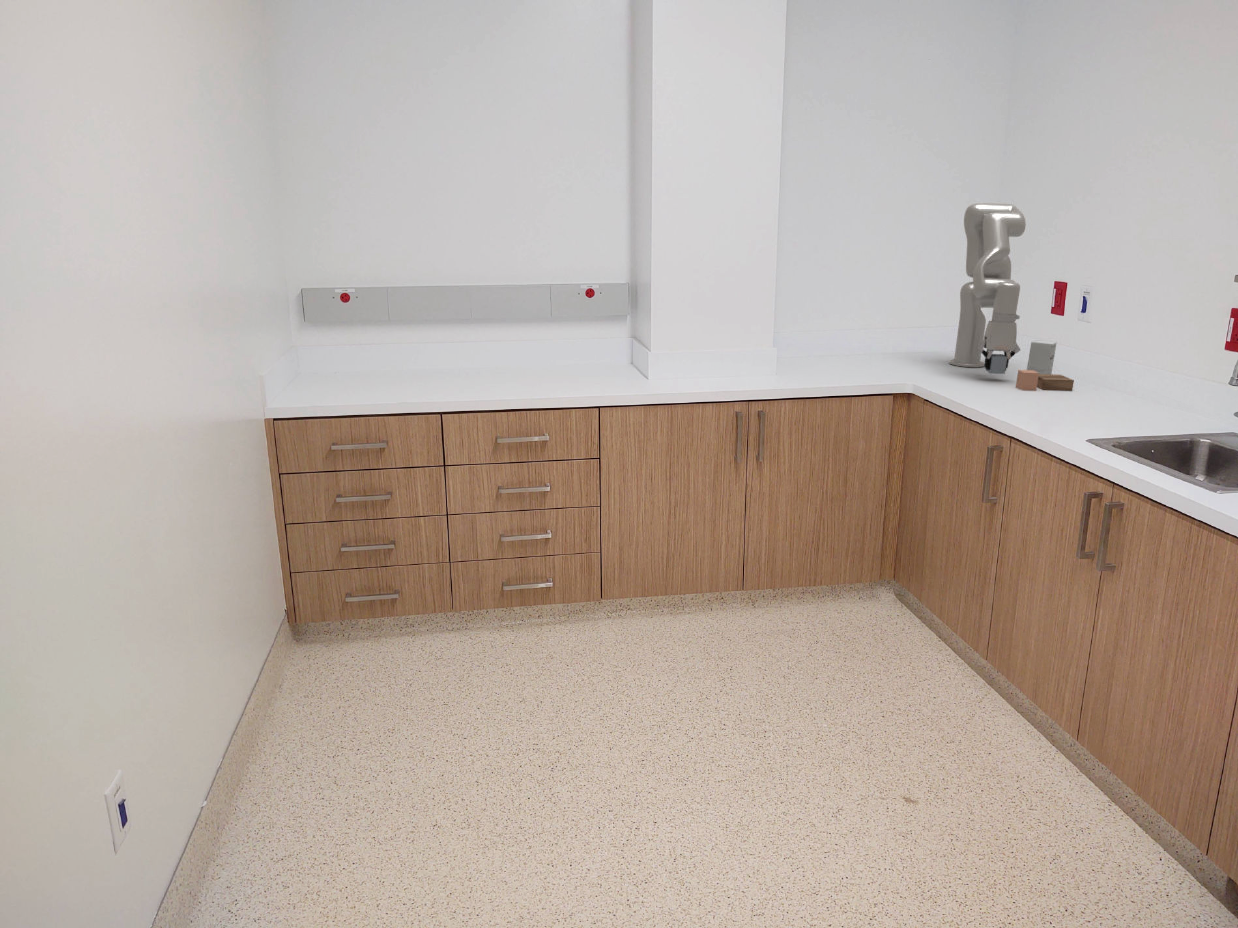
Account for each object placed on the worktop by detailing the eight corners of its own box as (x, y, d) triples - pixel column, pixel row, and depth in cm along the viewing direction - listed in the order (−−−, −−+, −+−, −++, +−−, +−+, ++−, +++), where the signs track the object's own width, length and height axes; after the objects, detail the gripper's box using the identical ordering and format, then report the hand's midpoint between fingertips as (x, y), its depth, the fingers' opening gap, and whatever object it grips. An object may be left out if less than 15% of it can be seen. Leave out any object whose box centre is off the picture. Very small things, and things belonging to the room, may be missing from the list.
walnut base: (1030, 385, 320) (1031, 373, 319) (1058, 385, 320) (1060, 374, 319) (1042, 391, 311) (1044, 379, 309) (1072, 391, 311) (1074, 380, 309)
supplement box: (1046, 379, 330) (1052, 344, 327) (1025, 376, 335) (1030, 341, 331) (1051, 376, 336) (1057, 342, 332) (1030, 373, 340) (1035, 339, 337)
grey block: (985, 370, 327) (988, 353, 325) (999, 370, 327) (1002, 354, 325) (990, 373, 322) (992, 356, 320) (1004, 373, 322) (1007, 357, 320)
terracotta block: (1015, 387, 314) (1018, 369, 313) (1030, 387, 314) (1033, 370, 312) (1021, 390, 309) (1023, 372, 308) (1036, 390, 309) (1039, 373, 308)
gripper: (1024, 317, 322) (1015, 368, 327) (975, 315, 322) (967, 366, 328) (1032, 320, 315) (1023, 372, 320) (982, 319, 315) (974, 371, 321)
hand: (995, 369), depth 324 cm, fingers closed on grey block, 4 cm apart
